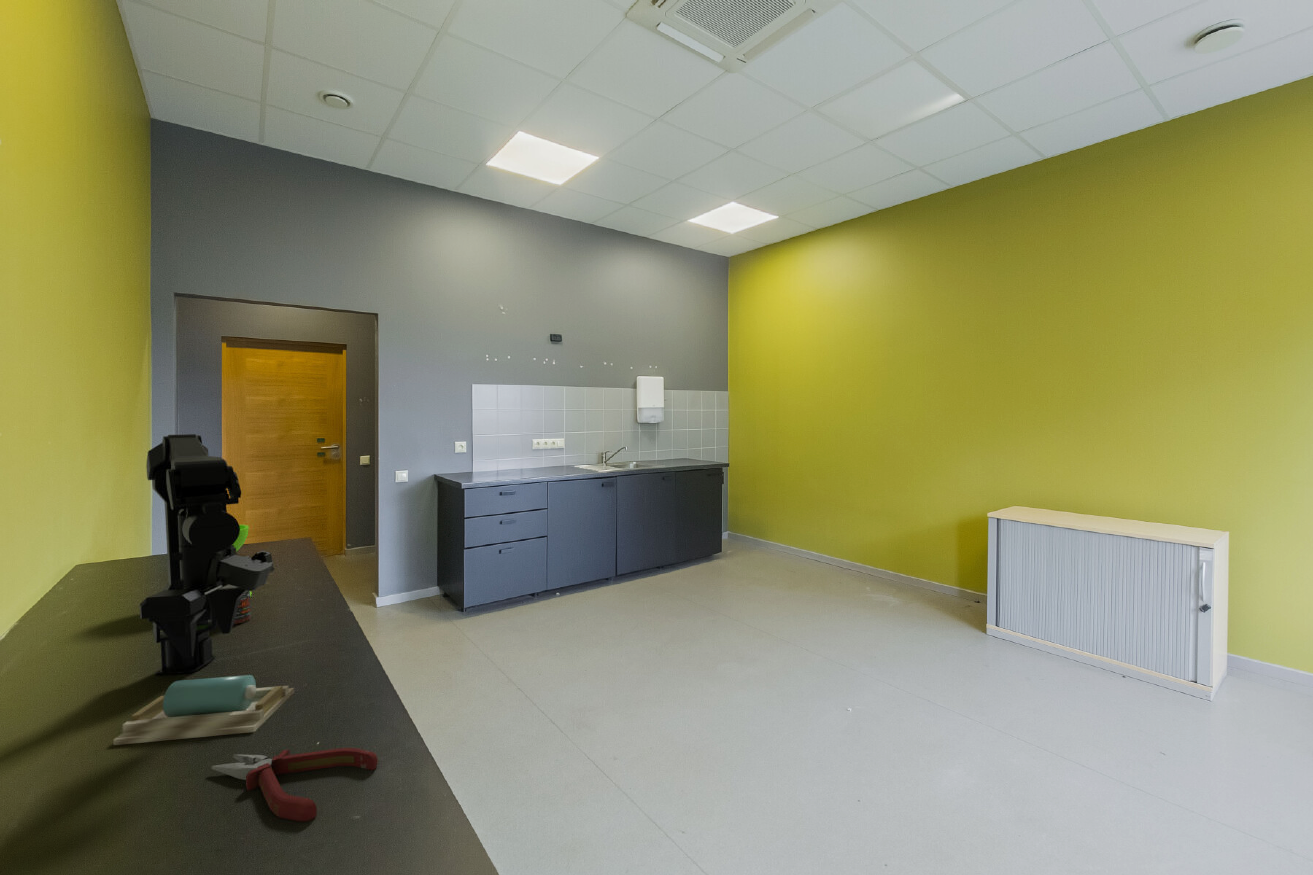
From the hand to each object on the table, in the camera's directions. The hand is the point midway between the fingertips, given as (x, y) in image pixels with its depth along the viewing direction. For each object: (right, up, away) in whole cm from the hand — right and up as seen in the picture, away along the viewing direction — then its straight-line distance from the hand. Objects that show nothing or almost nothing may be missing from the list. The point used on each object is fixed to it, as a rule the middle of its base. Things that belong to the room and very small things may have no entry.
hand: (208, 644), depth 86 cm
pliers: (+23, -12, -14) cm, 29 cm away
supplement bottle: (-28, -11, +43) cm, 52 cm away
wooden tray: (0, -11, 0) cm, 11 cm away
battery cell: (0, -11, +1) cm, 11 cm away
